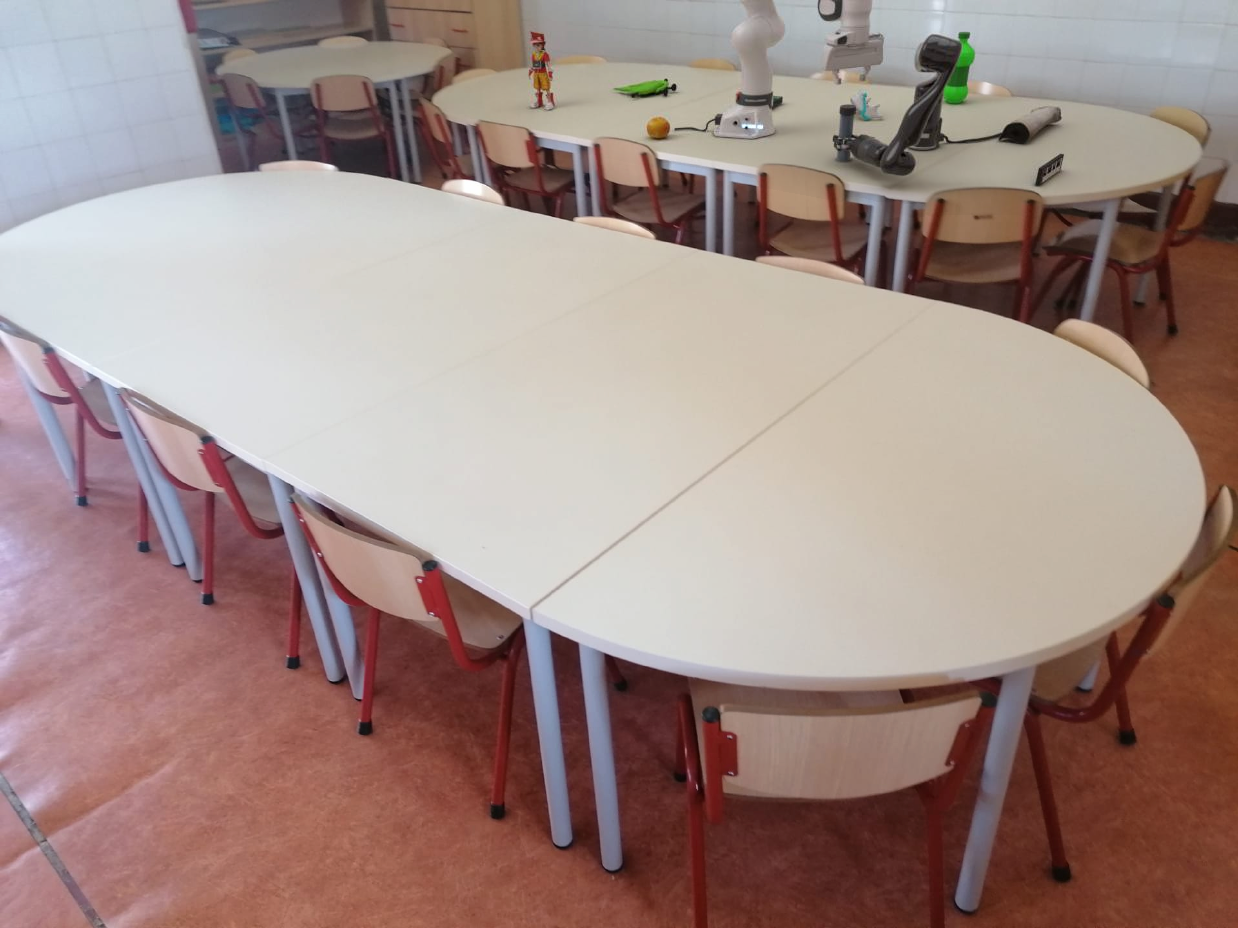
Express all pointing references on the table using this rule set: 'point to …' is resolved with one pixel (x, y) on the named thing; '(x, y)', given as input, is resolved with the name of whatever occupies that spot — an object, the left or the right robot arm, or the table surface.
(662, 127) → the fruit
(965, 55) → the plastic bottle
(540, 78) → the toy
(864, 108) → the anatomical model
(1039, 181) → the midi keyboard
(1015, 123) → the rolled mat
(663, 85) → the toy
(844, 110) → the lid
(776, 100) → the disk drive
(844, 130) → the jar
